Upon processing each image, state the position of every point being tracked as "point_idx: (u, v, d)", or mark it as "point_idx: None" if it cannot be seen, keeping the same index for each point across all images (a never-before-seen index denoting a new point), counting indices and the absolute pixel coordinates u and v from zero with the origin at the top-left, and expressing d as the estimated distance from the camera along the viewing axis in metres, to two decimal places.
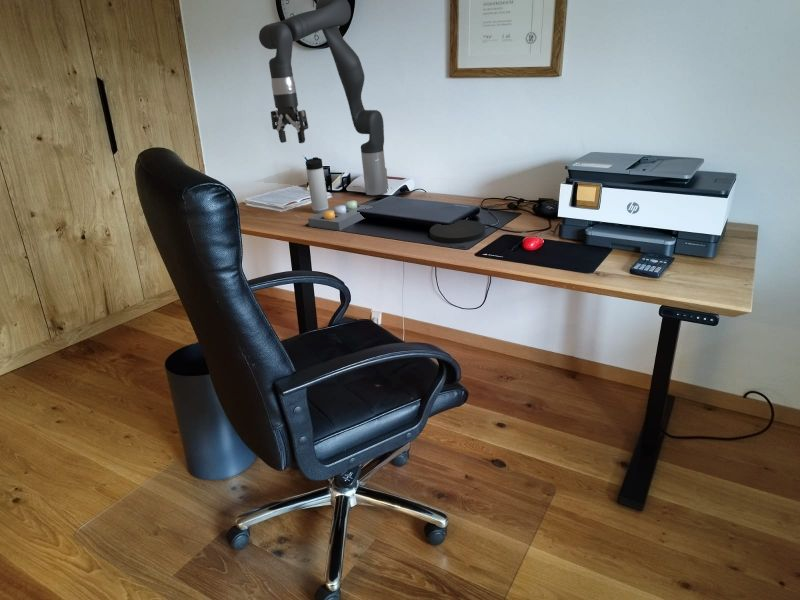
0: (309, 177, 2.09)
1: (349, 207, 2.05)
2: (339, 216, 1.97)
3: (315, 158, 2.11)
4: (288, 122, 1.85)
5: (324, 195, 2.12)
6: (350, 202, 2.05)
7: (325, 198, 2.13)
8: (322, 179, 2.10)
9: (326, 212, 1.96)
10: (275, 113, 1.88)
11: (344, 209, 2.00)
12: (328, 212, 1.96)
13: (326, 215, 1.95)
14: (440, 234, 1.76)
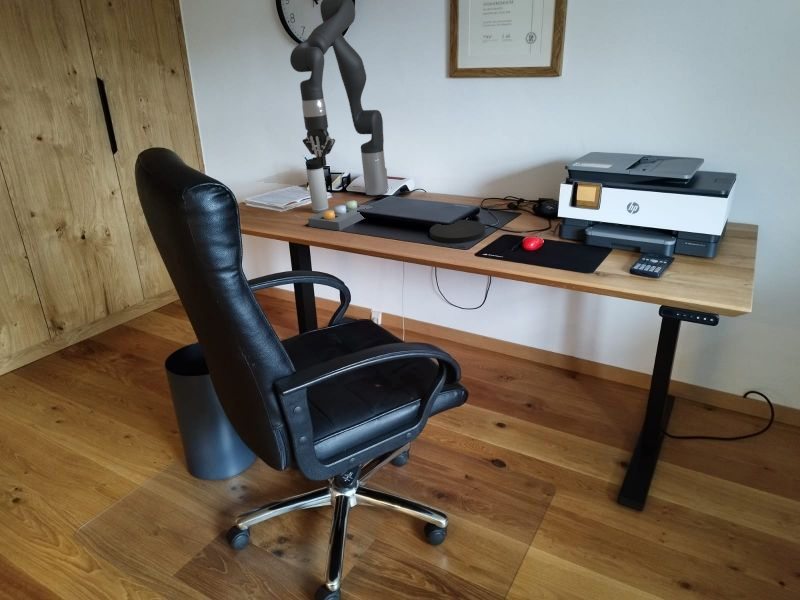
0: (309, 177, 2.09)
1: (349, 207, 2.05)
2: (339, 216, 1.97)
3: (315, 158, 2.11)
4: None
5: (324, 195, 2.12)
6: (350, 202, 2.05)
7: (325, 198, 2.13)
8: (322, 179, 2.10)
9: (326, 212, 1.96)
10: (306, 139, 1.88)
11: (344, 209, 2.00)
12: (328, 212, 1.96)
13: (326, 215, 1.95)
14: (440, 234, 1.75)
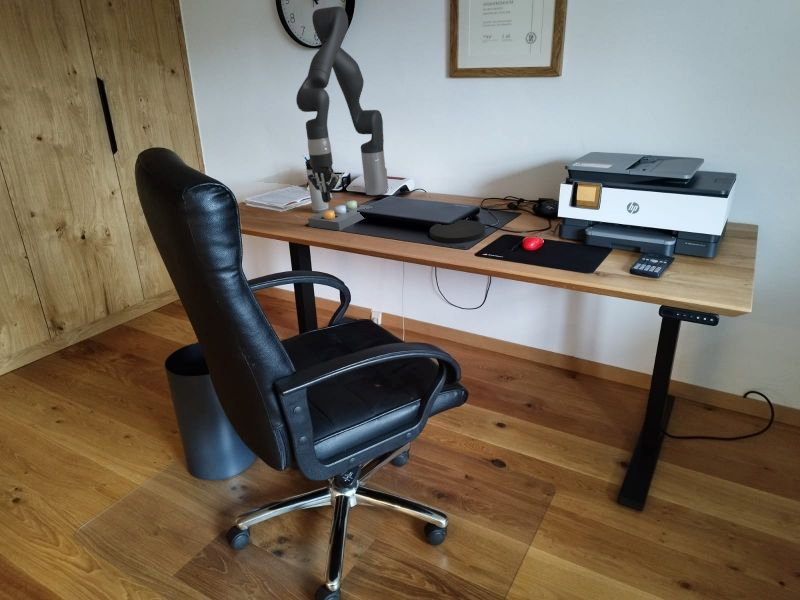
0: None
1: (349, 207, 2.05)
2: (339, 216, 1.97)
3: None
4: None
5: None
6: (350, 202, 2.05)
7: None
8: None
9: (326, 212, 1.96)
10: (312, 175, 1.93)
11: (344, 209, 2.00)
12: (328, 212, 1.96)
13: (326, 215, 1.95)
14: (440, 234, 1.75)
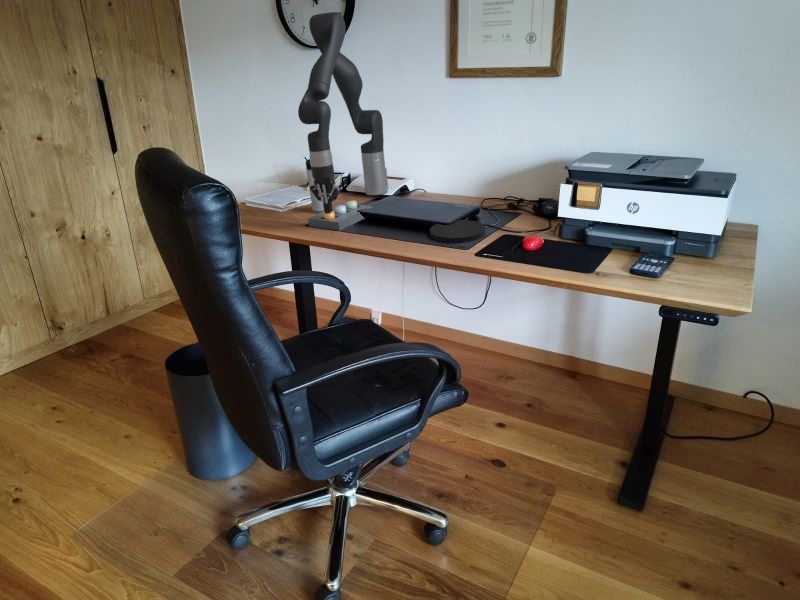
0: (309, 177, 2.09)
1: (349, 207, 2.05)
2: (339, 216, 1.97)
3: None
4: None
5: None
6: (350, 202, 2.05)
7: None
8: None
9: (326, 213, 1.96)
10: (313, 186, 1.95)
11: (344, 209, 2.00)
12: None
13: (326, 216, 1.95)
14: (440, 234, 1.75)
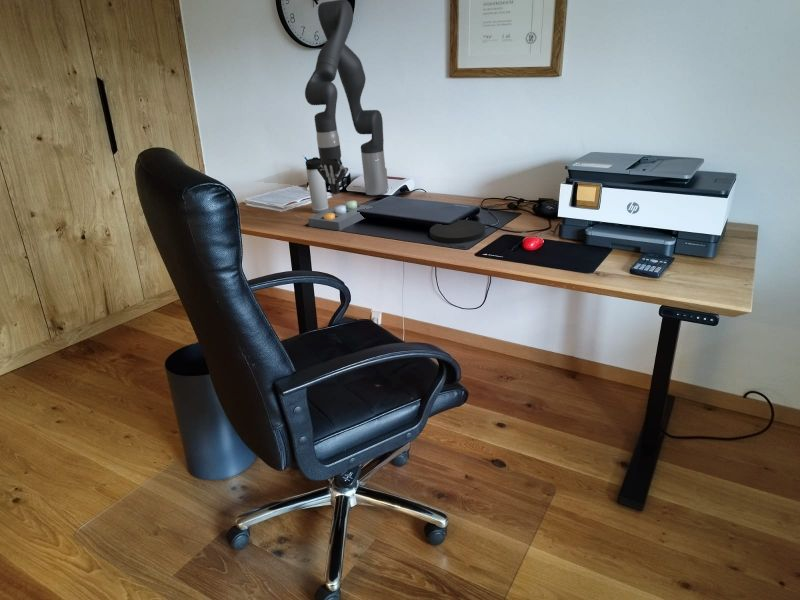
0: (309, 177, 2.09)
1: (349, 207, 2.05)
2: (339, 216, 1.97)
3: (315, 158, 2.11)
4: None
5: (324, 195, 2.12)
6: (350, 202, 2.05)
7: (325, 198, 2.13)
8: (322, 179, 2.10)
9: (326, 215, 1.96)
10: (321, 167, 1.96)
11: (344, 209, 2.00)
12: (328, 215, 1.96)
13: (326, 218, 1.95)
14: (440, 234, 1.75)
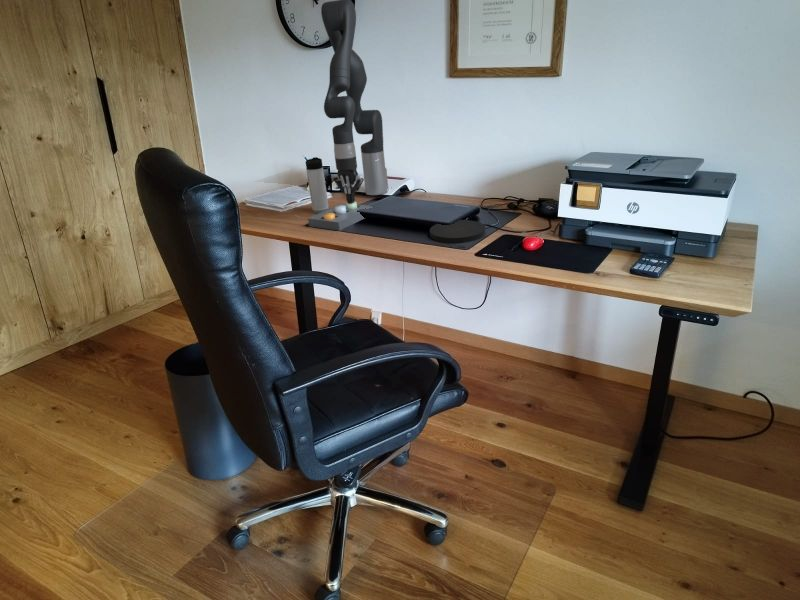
0: (309, 177, 2.09)
1: (349, 208, 2.05)
2: (339, 216, 1.97)
3: (315, 158, 2.11)
4: None
5: (324, 195, 2.12)
6: None
7: (325, 198, 2.13)
8: (322, 179, 2.10)
9: (326, 215, 1.96)
10: (337, 177, 2.04)
11: (344, 209, 2.00)
12: (328, 215, 1.96)
13: (326, 218, 1.95)
14: (440, 234, 1.75)
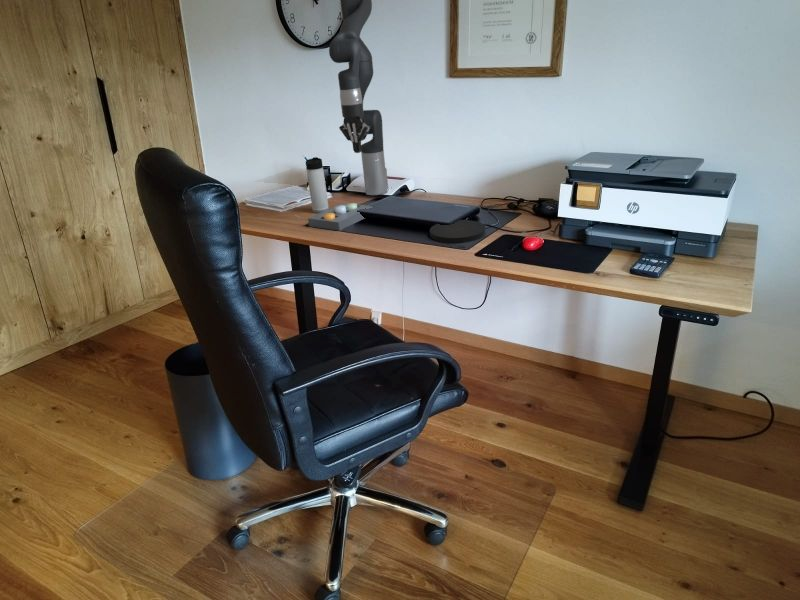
0: (309, 177, 2.09)
1: None
2: (339, 216, 1.97)
3: (315, 158, 2.11)
4: None
5: (324, 195, 2.12)
6: (350, 204, 2.06)
7: (325, 198, 2.13)
8: (322, 179, 2.10)
9: (326, 215, 1.96)
10: (343, 126, 2.00)
11: (344, 209, 2.00)
12: (328, 215, 1.96)
13: (326, 218, 1.95)
14: (440, 234, 1.75)
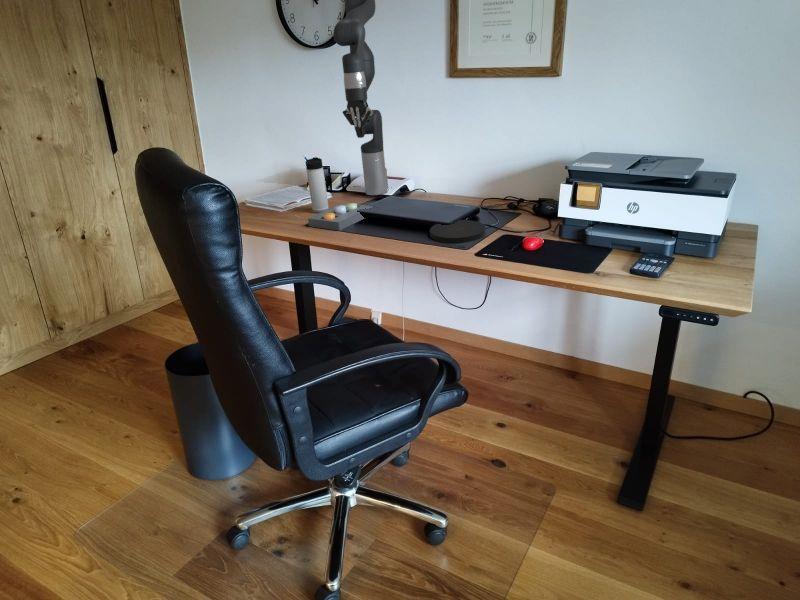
0: (309, 177, 2.09)
1: None
2: (339, 216, 1.97)
3: (315, 158, 2.11)
4: None
5: (324, 195, 2.12)
6: (350, 204, 2.06)
7: (325, 198, 2.13)
8: (322, 179, 2.10)
9: (326, 215, 1.96)
10: (346, 110, 1.99)
11: (344, 209, 2.00)
12: (328, 215, 1.96)
13: (326, 218, 1.95)
14: (440, 234, 1.75)
